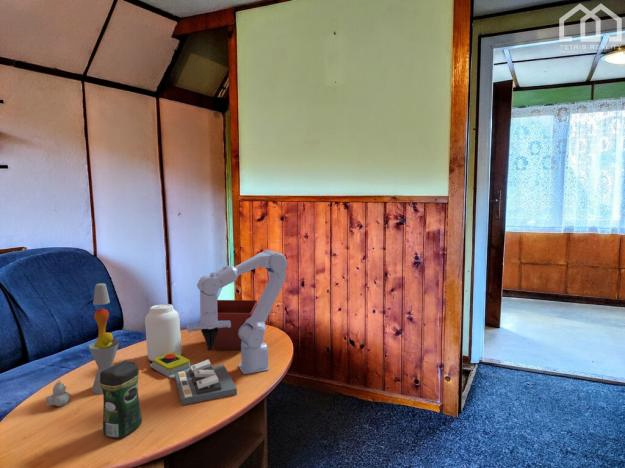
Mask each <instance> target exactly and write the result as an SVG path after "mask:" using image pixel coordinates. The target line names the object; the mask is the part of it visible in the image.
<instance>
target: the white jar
mask: <svg viewBox="0 0 625 468" xmlns="http://www.w3.org/2000/svg"><path fill="white" fill-rule="evenodd" d="M180 322H181V321H180V315H179V312H178V311H177V310H176V309H174V305H173V304H170V303H161V304H156V305H153V306H150V307H149V312H148V313H147V314H146V315H145V318H144V324H145V326H144V327H145V339H146V350H147V351H146V352H147V358H148V360H150V361H151V362H153V359H154V358H156V357H159V356H162V355H165V354H168V353H172V352H175V353H177V354H179V355H181V356H182V338H181V337H182V336H181V323H180Z"/></svg>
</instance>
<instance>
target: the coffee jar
mask: <svg viewBox="0 0 625 468" xmlns="http://www.w3.org/2000/svg"><path fill="white" fill-rule="evenodd" d="M112 365H113V366H111V367H109V368H107V369H105V370H103V371H102V372H101V373H100V386H101V388H102V390H103V394H102V396H103V399H102V400H103V415H102V429H103V430H102V431H103V432H102V433H103V435H104V436H106V437H107V438H111V439H119V438H121V439H123V438H124V437H127V436H128V435H129V434H131V433H133V432H134V431H135V430H136V429H138V428H139V427H141V425H142V423H143V422H142V421H143V418H142V410H141V405H140V399H139V398H140V397H139V388H138V385H139V384H138V383H139V376H140V373H139V369H138V368H139V367H138V364H137V363H136V362H135V361H133V360H127V359H123V360H122V361H120V362H118V363H115V364H112Z"/></svg>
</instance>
